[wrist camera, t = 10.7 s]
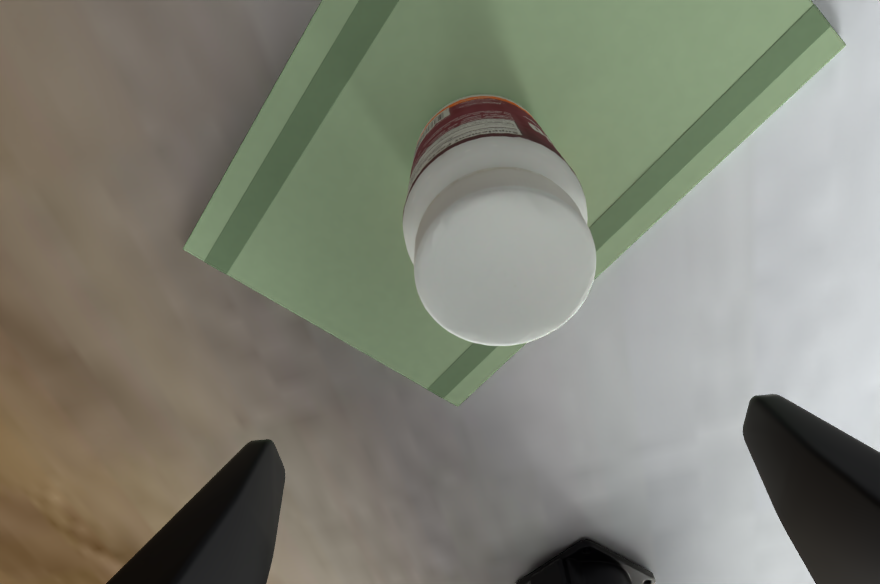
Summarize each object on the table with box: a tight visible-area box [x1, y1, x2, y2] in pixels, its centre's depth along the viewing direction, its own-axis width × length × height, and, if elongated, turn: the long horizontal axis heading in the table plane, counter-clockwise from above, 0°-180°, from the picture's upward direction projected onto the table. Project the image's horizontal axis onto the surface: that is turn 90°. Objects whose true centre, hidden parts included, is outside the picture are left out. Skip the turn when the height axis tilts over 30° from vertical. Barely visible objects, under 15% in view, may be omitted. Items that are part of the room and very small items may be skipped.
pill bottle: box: [402, 94, 596, 346], centre depth 15 cm, size 5×5×8 cm
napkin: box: [183, 0, 846, 407], centre depth 18 cm, size 14×20×1 cm
